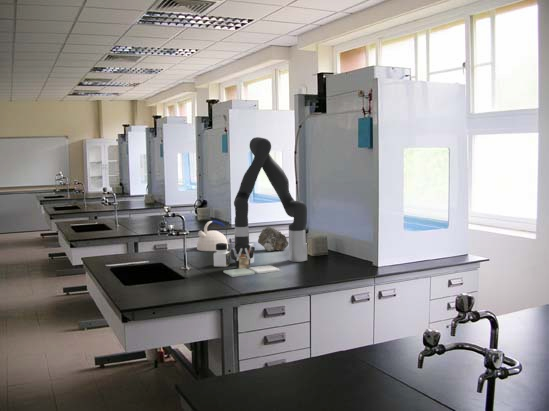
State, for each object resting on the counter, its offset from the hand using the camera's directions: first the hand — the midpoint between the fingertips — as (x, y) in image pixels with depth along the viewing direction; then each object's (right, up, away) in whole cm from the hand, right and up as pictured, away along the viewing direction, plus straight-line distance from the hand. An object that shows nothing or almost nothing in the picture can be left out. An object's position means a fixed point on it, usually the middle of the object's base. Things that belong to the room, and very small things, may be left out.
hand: (242, 266), depth 293 cm
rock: (+16, +4, +53) cm, 55 cm away
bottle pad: (-1, -2, -14) cm, 14 cm away
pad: (+12, -1, -8) cm, 14 cm away
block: (0, 0, 0) cm, 0 cm away
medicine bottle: (-12, 0, +8) cm, 14 cm away
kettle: (-23, +4, +63) cm, 67 cm away
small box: (+1, +1, +14) cm, 14 cm away
